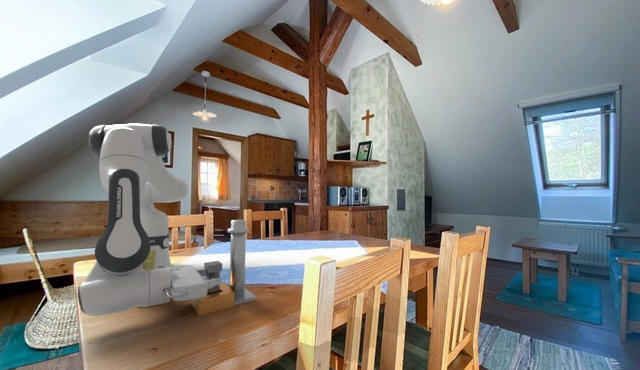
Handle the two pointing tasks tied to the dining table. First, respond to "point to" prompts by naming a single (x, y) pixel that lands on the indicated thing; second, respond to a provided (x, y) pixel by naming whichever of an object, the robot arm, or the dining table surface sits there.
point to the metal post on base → (237, 276)
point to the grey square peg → (213, 274)
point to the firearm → (150, 261)
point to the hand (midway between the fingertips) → (216, 275)
